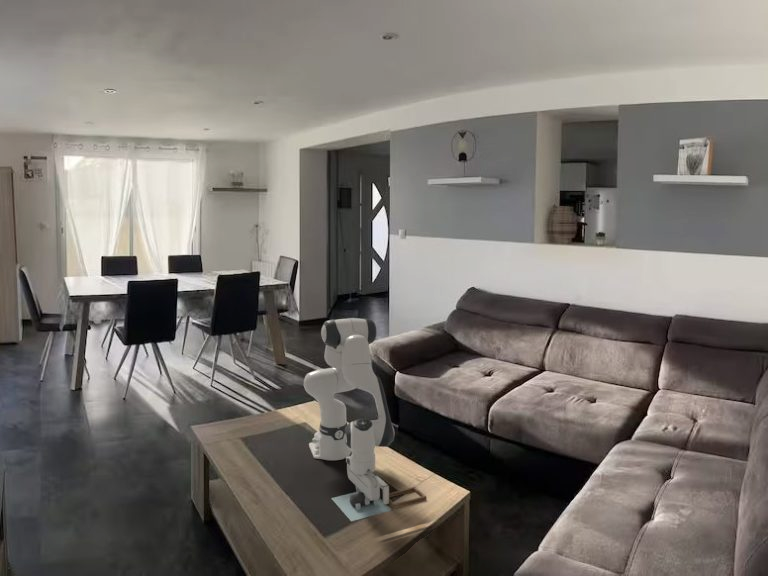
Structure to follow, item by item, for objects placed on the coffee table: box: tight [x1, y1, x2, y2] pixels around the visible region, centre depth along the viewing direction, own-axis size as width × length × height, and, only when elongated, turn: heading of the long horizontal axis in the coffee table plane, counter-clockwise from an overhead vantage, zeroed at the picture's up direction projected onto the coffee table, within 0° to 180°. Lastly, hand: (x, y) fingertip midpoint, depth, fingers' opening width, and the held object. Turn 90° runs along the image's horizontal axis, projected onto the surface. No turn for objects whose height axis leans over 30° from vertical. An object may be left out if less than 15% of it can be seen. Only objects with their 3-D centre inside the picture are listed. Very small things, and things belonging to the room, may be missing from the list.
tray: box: [388, 486, 427, 509], centre depth 220 cm, size 9×14×2 cm, turn 118°
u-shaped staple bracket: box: [375, 474, 390, 505], centre depth 219 cm, size 10×2×7 cm, turn 28°
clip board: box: [331, 491, 393, 522], centre depth 216 cm, size 18×16×3 cm
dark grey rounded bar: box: [350, 493, 373, 507], centre depth 216 cm, size 4×9×4 cm, turn 118°
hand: (363, 500), depth 216 cm, fingers closed on dark grey rounded bar, 4 cm apart
